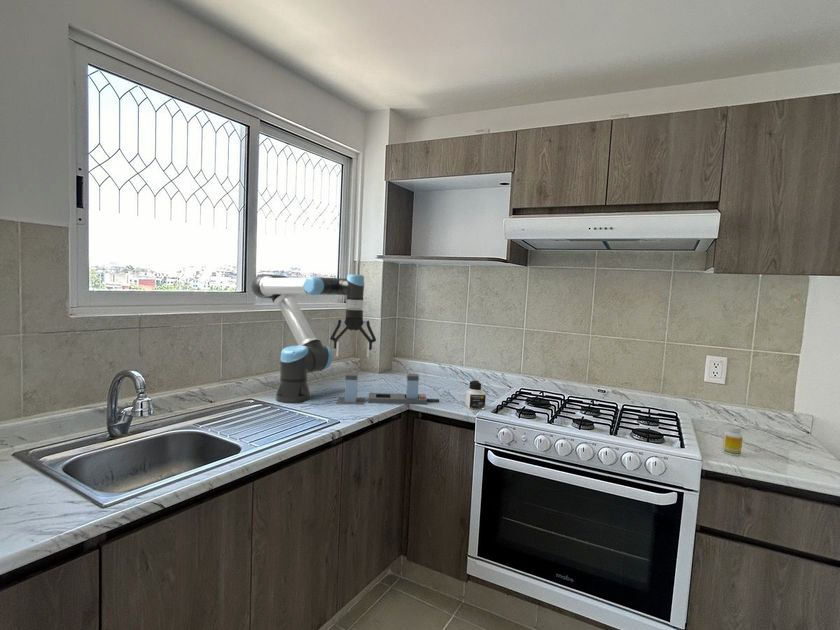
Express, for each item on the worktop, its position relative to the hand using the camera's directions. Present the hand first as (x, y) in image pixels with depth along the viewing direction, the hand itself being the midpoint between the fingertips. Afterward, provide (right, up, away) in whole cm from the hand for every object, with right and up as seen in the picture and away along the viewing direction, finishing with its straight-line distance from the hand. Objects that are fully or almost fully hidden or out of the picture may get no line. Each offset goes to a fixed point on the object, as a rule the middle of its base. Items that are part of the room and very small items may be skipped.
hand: (352, 356), depth 200 cm
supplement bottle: (+140, -30, -43) cm, 150 cm away
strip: (+23, -21, +3) cm, 31 cm away
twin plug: (+26, -21, +3) cm, 34 cm away
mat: (-1, -20, +1) cm, 20 cm away
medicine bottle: (+55, -23, +1) cm, 60 cm away
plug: (-1, -20, +1) cm, 20 cm away
